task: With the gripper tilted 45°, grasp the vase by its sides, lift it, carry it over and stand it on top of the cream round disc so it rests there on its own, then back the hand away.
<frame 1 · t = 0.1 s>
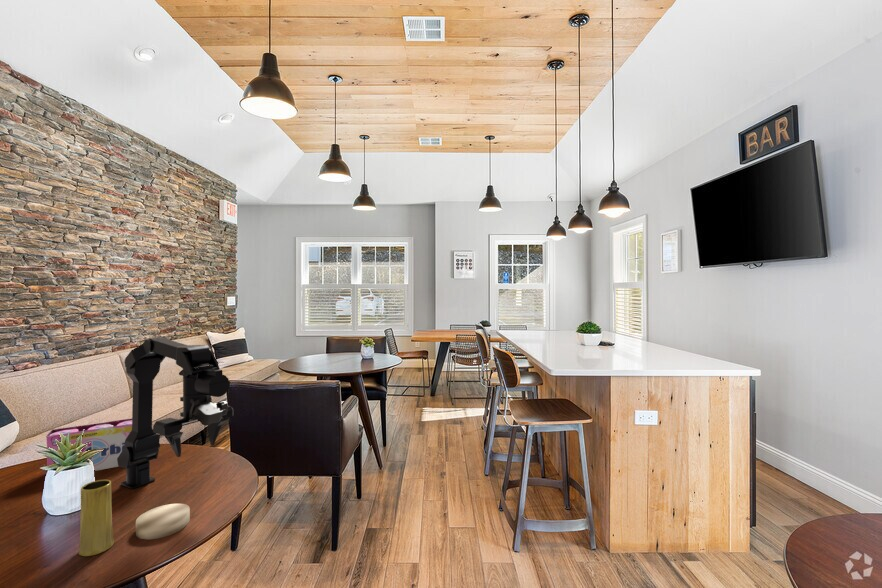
hand: (196, 450, 112), 15 cm above the table, tool pointing down, fingers open, 9 cm apart
vase: (96, 549, 93), on the table
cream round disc: (163, 527, 102), on the table
gum box: (95, 468, 136), on the table
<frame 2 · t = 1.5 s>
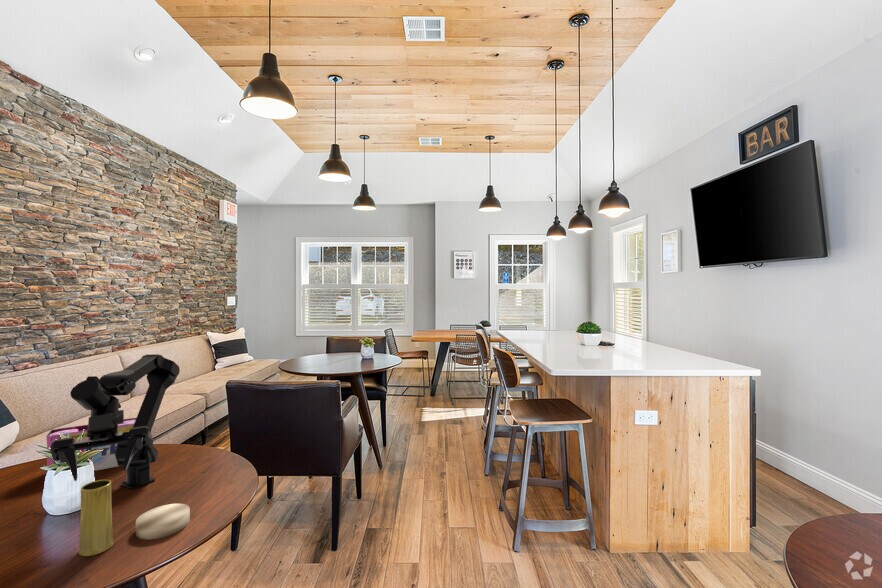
hand: (100, 475, 99), 13 cm above the table, tool tilted 45°, fingers open, 9 cm apart
nothing on the table moved.
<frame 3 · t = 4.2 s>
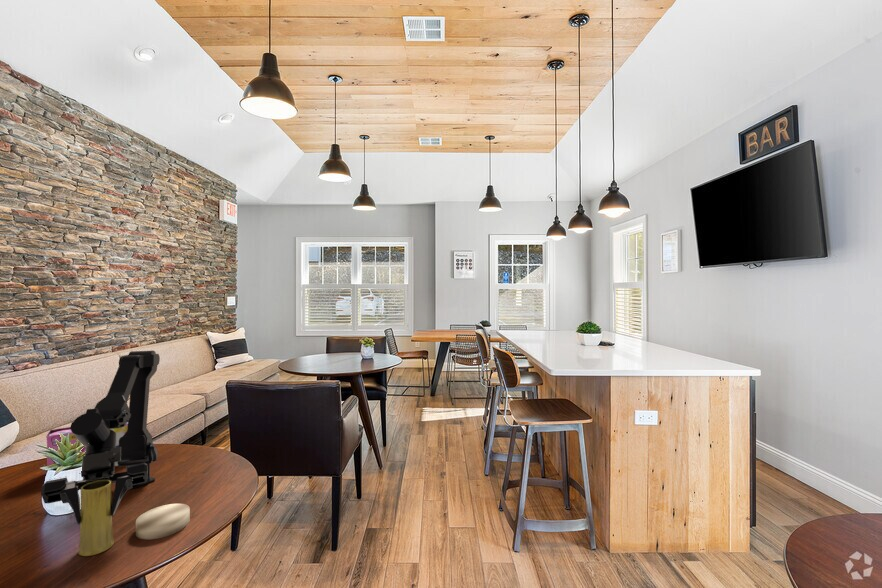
hand: (95, 519, 92), 7 cm above the table, tool tilted 45°, fingers closed on vase, 5 cm apart
vase: (96, 549, 93), on the table, touching gripper
everything else where it was.
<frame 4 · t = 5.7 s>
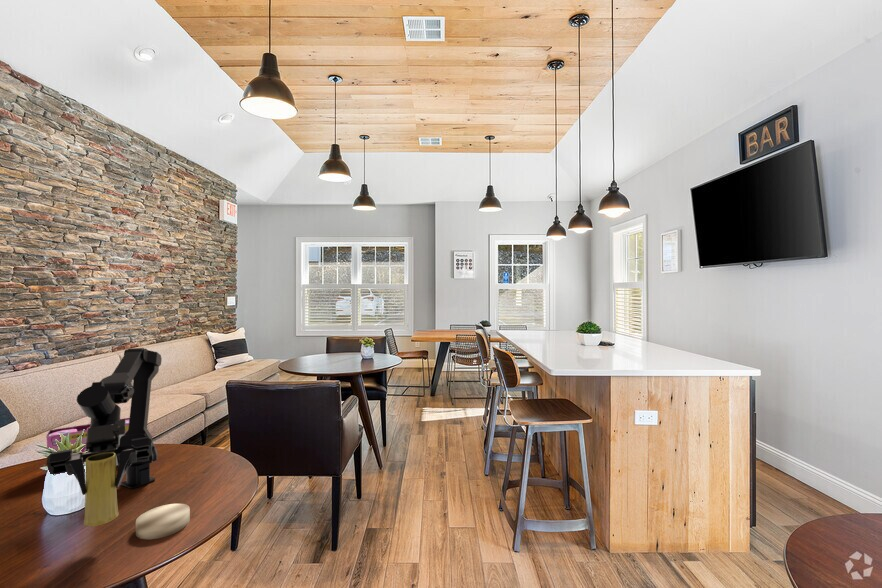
hand: (100, 490, 92), 13 cm above the table, tool tilted 45°, fingers closed on vase, 5 cm apart
vase: (101, 520, 94), point 6 cm above the table, touching gripper
everything else where it was.
when the fingers open (11 cm above the table, at t = 7.4 s): vase drops 2 cm, resting on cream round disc.
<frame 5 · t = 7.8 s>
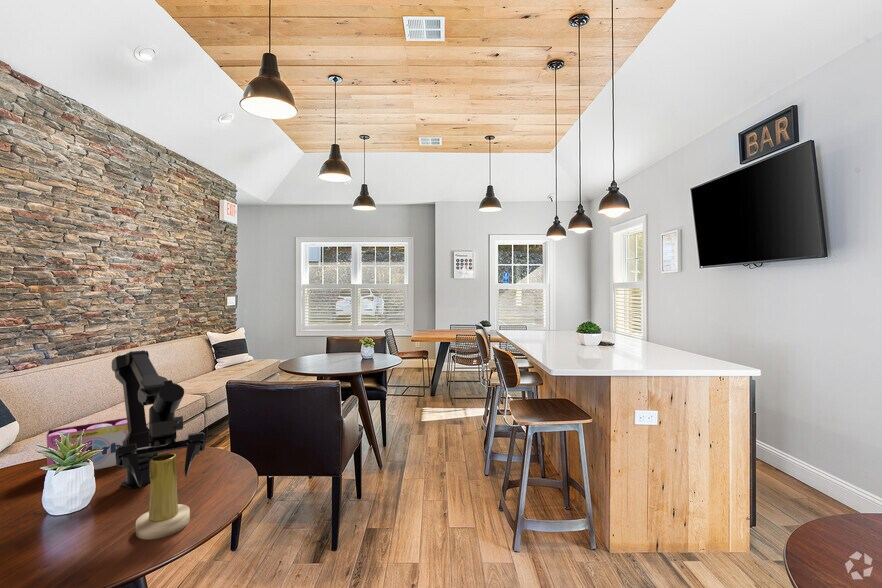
hand: (163, 480, 101), 12 cm above the table, tool tilted 45°, fingers open, 9 cm apart
vase: (163, 516, 102), point 2 cm above the table, touching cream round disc
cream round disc: (163, 527, 102), on the table, touching vase
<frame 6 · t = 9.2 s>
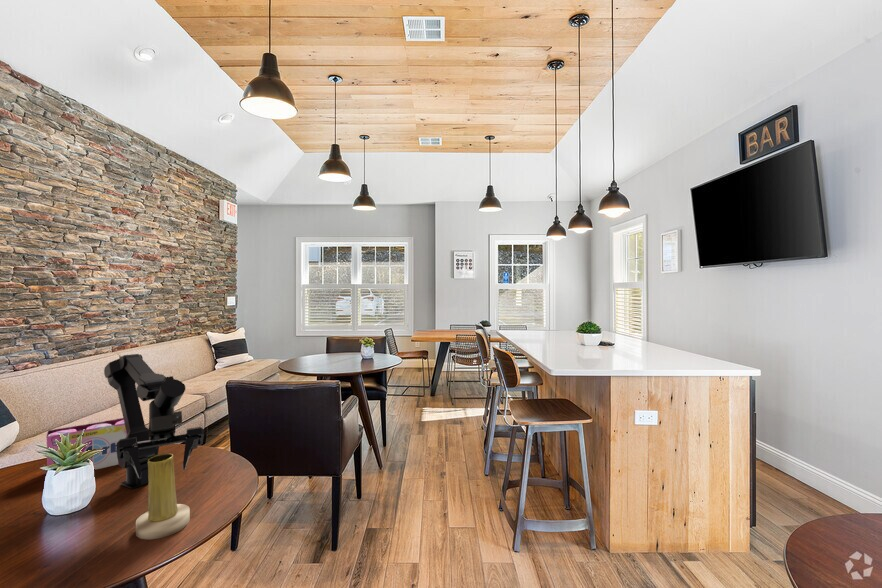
hand: (162, 473, 104), 12 cm above the table, tool tilted 45°, fingers open, 9 cm apart
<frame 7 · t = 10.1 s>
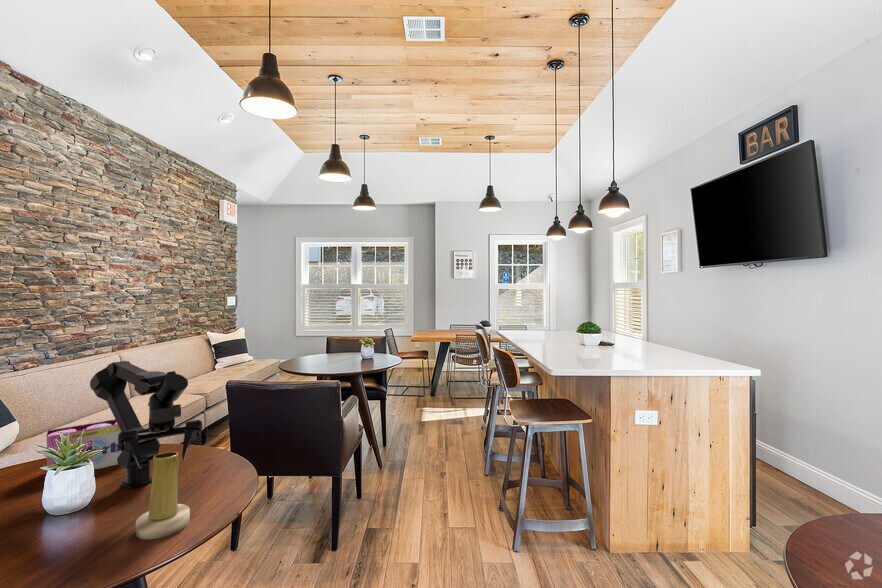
hand: (162, 463, 108), 13 cm above the table, tool tilted 45°, fingers open, 9 cm apart
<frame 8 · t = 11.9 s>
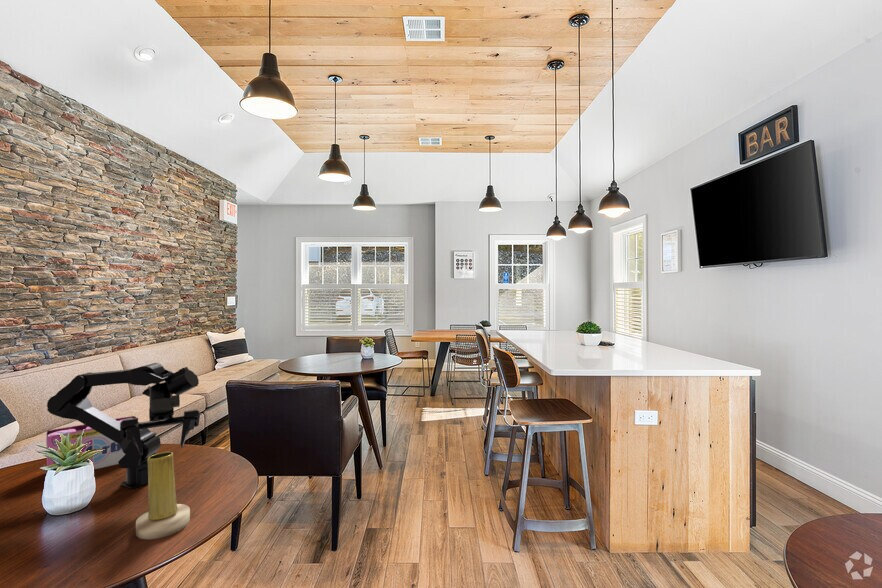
hand: (162, 450, 114), 14 cm above the table, tool tilted 45°, fingers open, 9 cm apart
at the end: vase 0.1 cm off-centre on the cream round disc, point 3.2 cm above the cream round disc's base; vase tilted 8°; vase touching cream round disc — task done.
